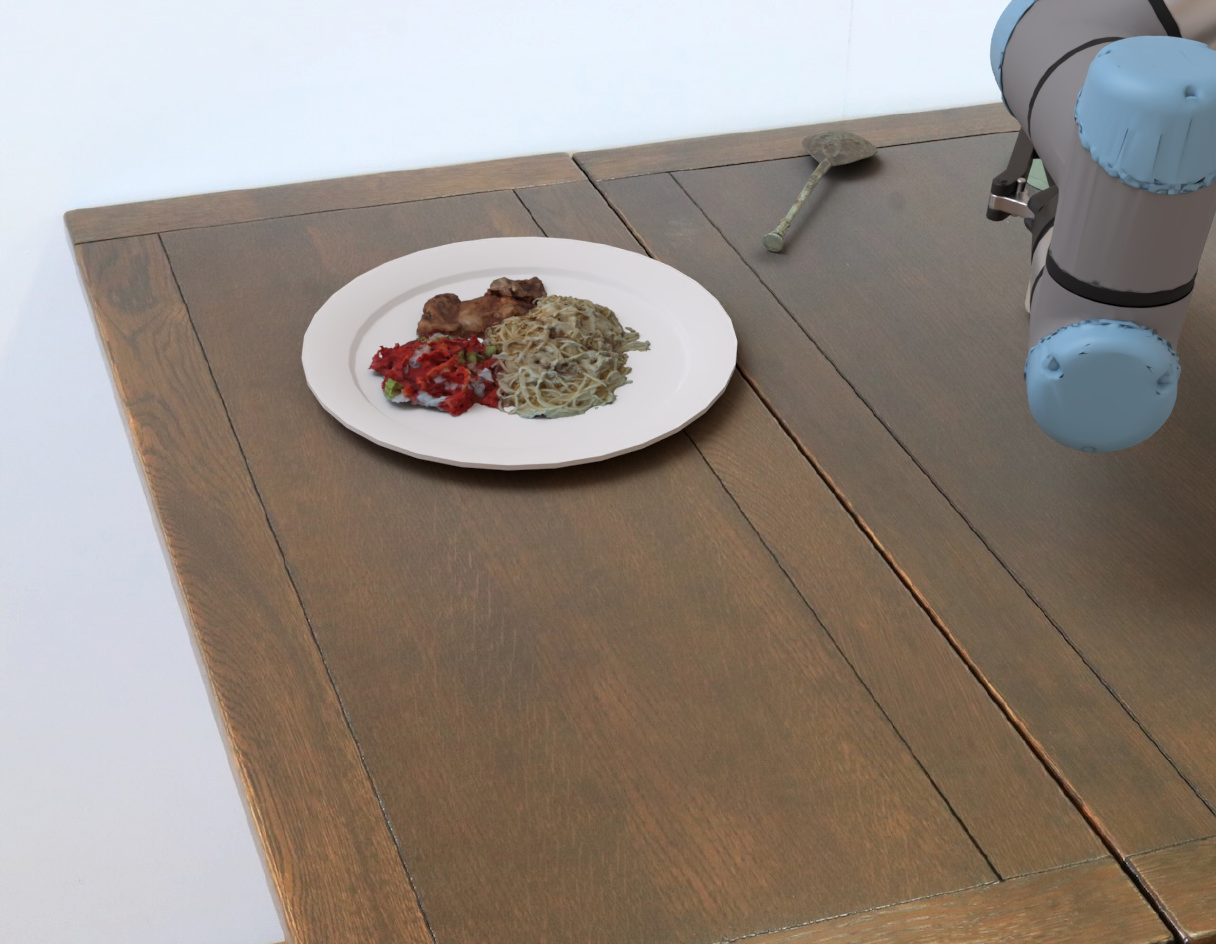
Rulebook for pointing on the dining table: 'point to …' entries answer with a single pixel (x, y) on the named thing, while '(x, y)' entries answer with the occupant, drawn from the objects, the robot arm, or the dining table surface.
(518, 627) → the dining table surface
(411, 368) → the plated food
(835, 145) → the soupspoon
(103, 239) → the dining table surface
